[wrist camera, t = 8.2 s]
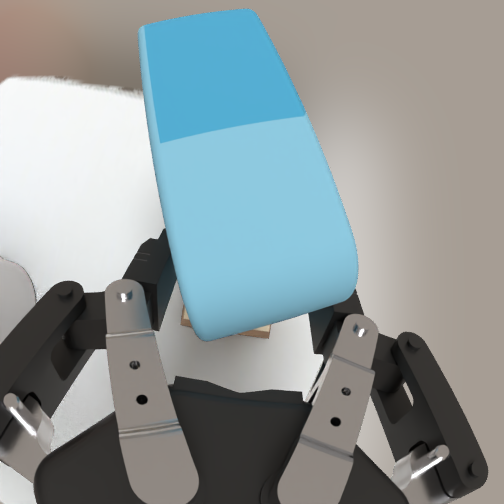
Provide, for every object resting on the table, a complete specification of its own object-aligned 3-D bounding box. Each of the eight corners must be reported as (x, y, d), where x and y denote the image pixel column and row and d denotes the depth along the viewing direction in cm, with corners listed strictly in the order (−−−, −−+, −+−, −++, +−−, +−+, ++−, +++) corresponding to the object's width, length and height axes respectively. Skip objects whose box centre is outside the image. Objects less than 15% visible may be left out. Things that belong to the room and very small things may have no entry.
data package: (283, 306, 19) (375, 295, 7) (212, 326, 18) (194, 350, 7) (233, 137, 21) (248, -6, 9) (170, 151, 20) (135, 12, 9)
